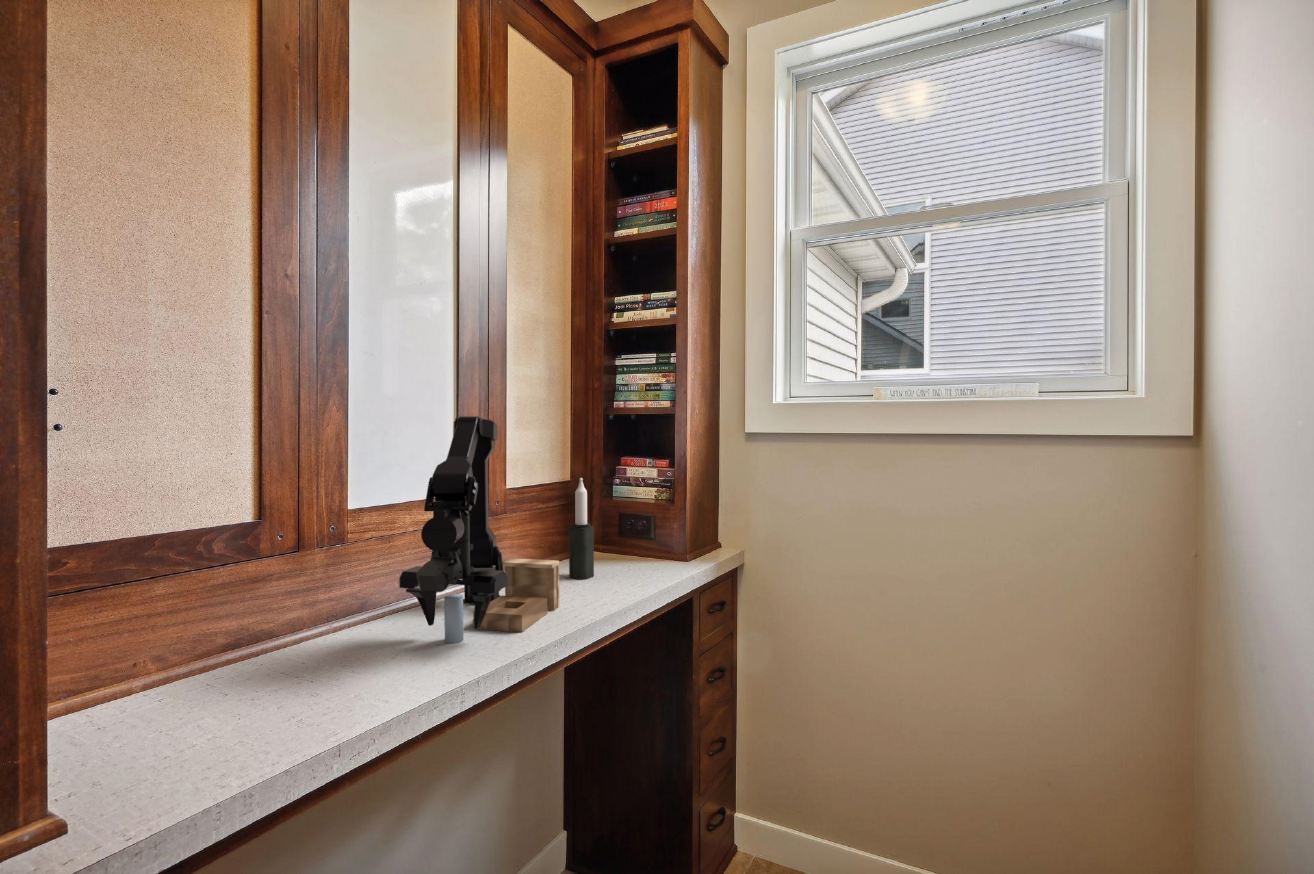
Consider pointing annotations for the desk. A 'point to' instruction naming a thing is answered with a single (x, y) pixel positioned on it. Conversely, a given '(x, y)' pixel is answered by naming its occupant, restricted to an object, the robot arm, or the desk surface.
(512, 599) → the socket station
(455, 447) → the robot arm
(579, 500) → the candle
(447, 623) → the peg
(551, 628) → the desk surface
